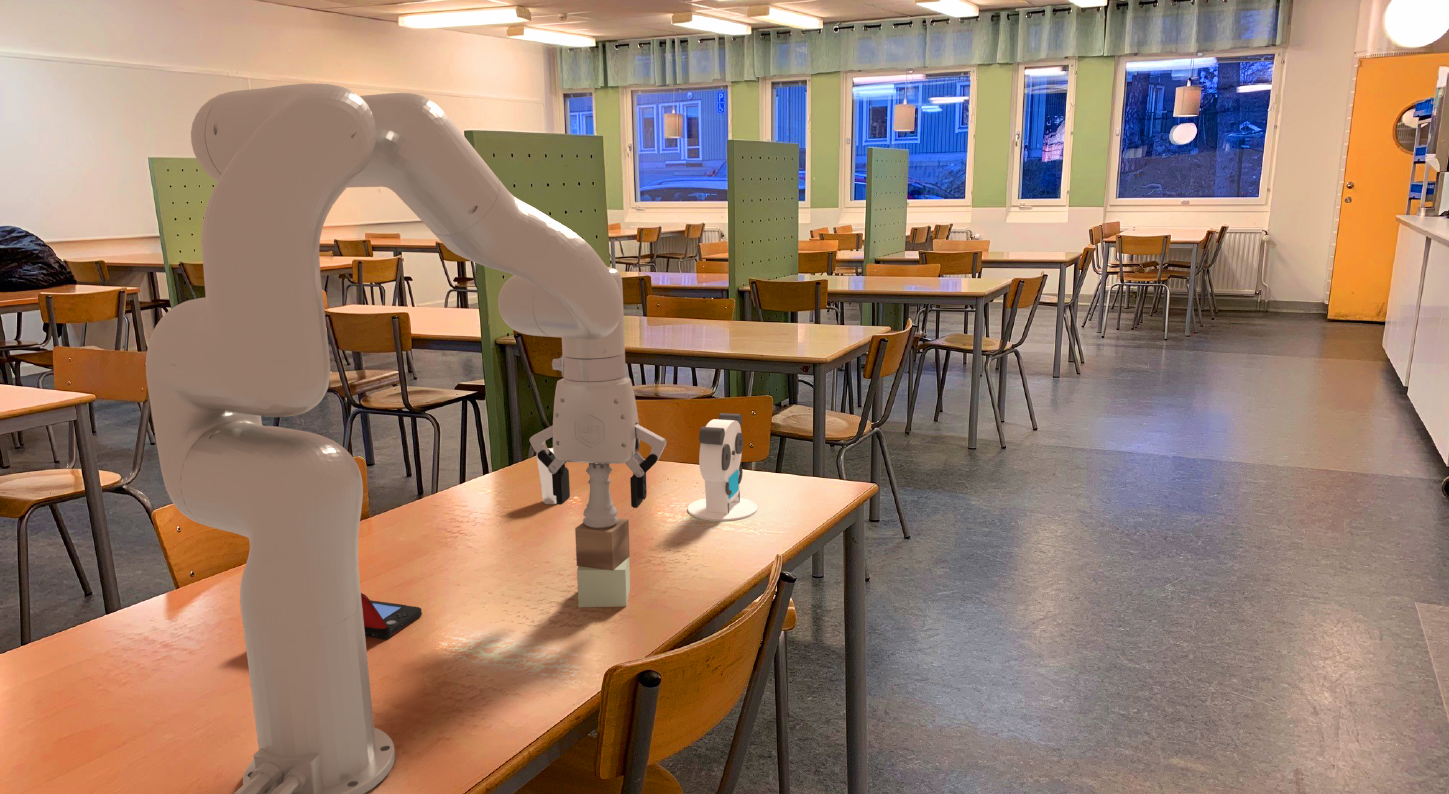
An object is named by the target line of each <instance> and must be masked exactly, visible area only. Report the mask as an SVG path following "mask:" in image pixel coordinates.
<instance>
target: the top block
mask: <svg viewBox="0 0 1449 794" xmlns="http://www.w3.org/2000/svg"><path fill="white" fill-rule="evenodd" d="M617 518H618V521H617V523H616V524H615V525H614V526H612V527H609V528H604V529H594V528H589V527H587V526H586V525H585V524H584V522H583V521H582V523H581V524H579V525H577V526H576V527H575V529H574V530H575V531H574V532H575V533H574V535H575V552H576V553H575V554H576V555H575V556H576V559H575V560H576V566H577V567H578V566H581V567H589V568H596V569H604V570H612V571H613V570H614V569H615V568H617V567H618V566H619V565H620V564H621V563H623V562H624V561H625V560H626V559H627V558H628V557H629V558H630V556H631V555H630V552H631V551H630V526H629V525H630V524H629V523H630V521H629V519H626V518H619V517H617Z"/></svg>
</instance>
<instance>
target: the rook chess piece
mask: <svg viewBox="0 0 1449 794" xmlns="http://www.w3.org/2000/svg"><path fill="white" fill-rule="evenodd" d="M612 471H613V468H612V467H611V466H610V464H605V463H588V466H587V468H586V470H585V472H586V473H587V474H588V475H589V480H588V481H587V483H588V484H589V497H588V501H587V504H586V508H585V509H584V511H583V514H582V515H583V516H584V518H583V520H582V523H583V522H584V524H585V525H586V526H587V527H589V528H594V529H604V528H609V527H612V526H614V525H615V524H616V523H617V521H618V518H619V517H617V515H618V510H617V509H618V508H616V507H615V506H614V505H615V503H613V500H612V496H611V491H610V484H611V482H612V481H611V479H610V474H611V472H612Z"/></svg>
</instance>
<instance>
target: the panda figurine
mask: <svg viewBox="0 0 1449 794" xmlns="http://www.w3.org/2000/svg"><path fill="white" fill-rule="evenodd" d="M742 424H743V415H742V414H740V413H726V412H725V413H723V412H720V413H719V415H718V418H717V419H713V418H712V419H711V420H710V421H709V422H707V424H706V425H705V426H701V427H700V429H699V435H698V440H699V444H700V445H699V447H700V448H699V454H698V455H699V457H698V459H699V461H698V463H699V464H698V465H699V471H700V475H701V477H702V479H703V480H704V488H705V489H704V490H705V491H704V493H705V497H704V498H701V499H697V500H694V501H693V502H691V503H689V504H688V506H687V512H688V514H689V515H691V516H692V517H694V518H697V519H701V520H704V521H711V522H731V521H738V520H743V519H747V518H750V517H753V515H755V514H757V512H758V509H759V508H758V505H757V503H756V502H754V501H752V500H751V499H746V498H743V497H741V489H740V484H741V482H742V479H743V472H744V471H743V466H741V461H742V454H743V453H742V452H743V450H744V449H743V448H744V436H743V433H742V428H741V426H742Z"/></svg>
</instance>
